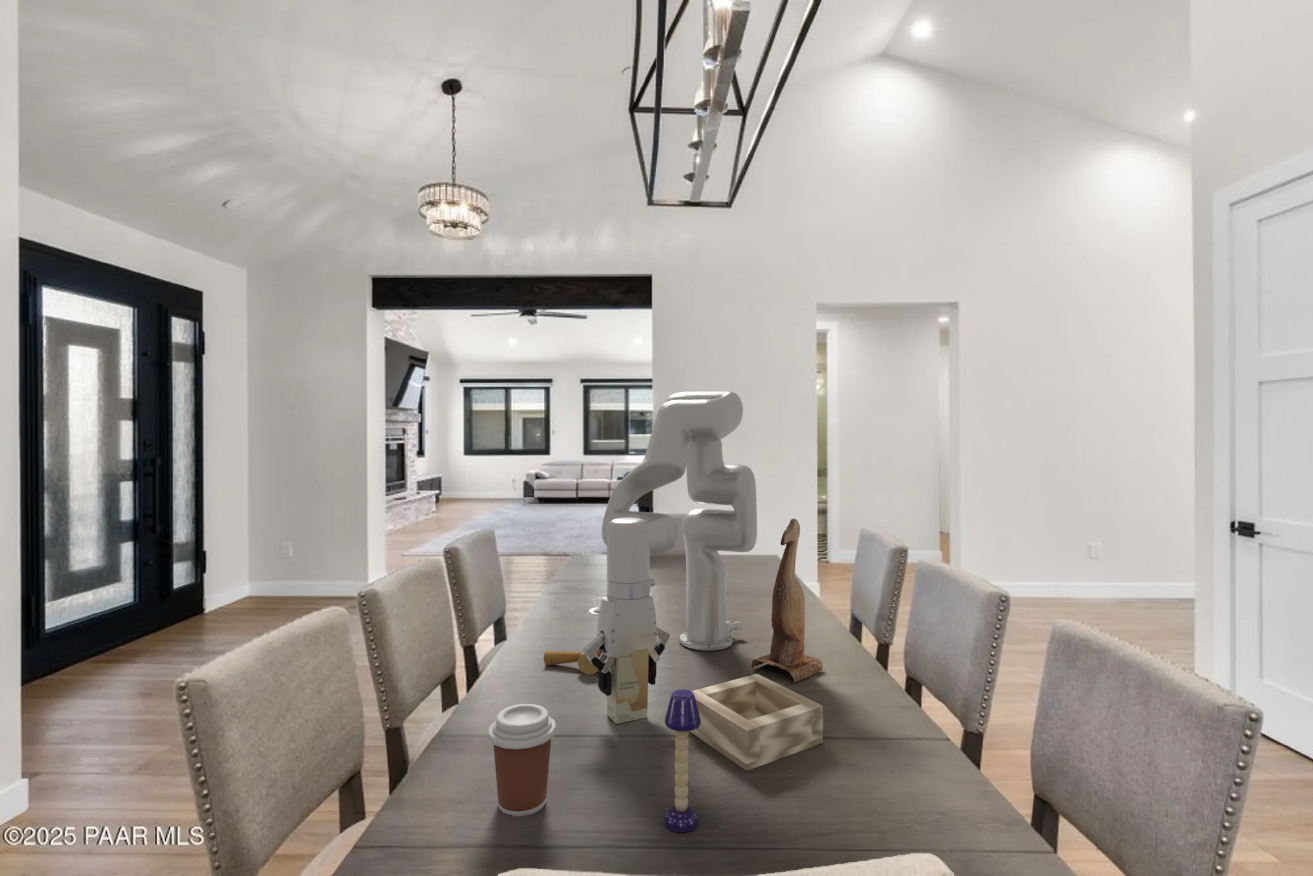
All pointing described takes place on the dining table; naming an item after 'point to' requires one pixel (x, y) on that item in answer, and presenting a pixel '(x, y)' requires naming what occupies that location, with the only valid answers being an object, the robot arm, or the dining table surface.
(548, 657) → the kendama
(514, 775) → the coffee cup
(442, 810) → the dining table surface
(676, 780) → the toy lamp
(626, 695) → the skincare box
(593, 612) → the teacup and saucer
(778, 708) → the holder
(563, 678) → the dining table surface
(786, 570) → the bird sculpture
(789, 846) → the dining table surface
